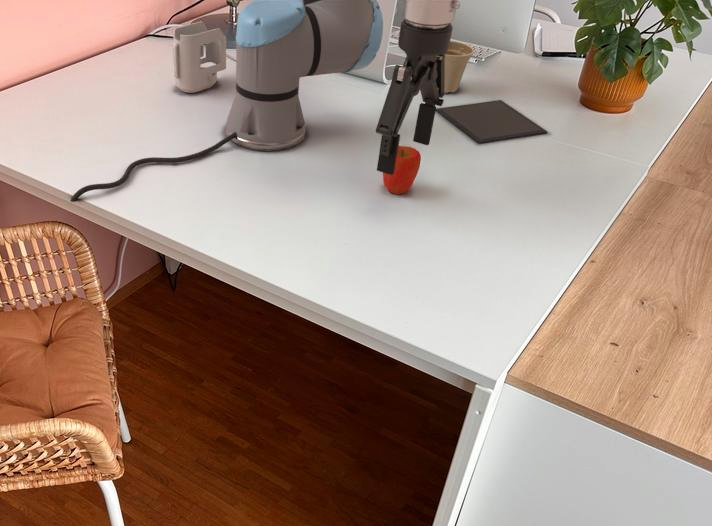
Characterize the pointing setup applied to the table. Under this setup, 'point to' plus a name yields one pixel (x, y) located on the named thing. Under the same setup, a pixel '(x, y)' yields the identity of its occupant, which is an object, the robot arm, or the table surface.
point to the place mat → (490, 121)
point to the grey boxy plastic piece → (197, 56)
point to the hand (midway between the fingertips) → (403, 157)
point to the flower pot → (456, 64)
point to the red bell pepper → (403, 170)
